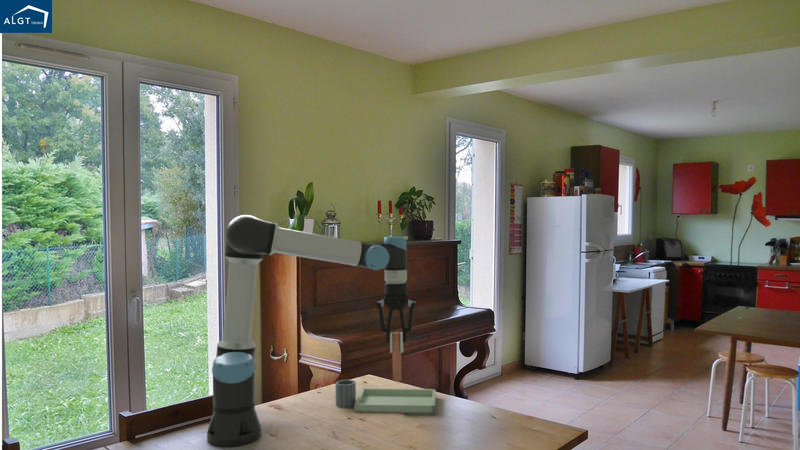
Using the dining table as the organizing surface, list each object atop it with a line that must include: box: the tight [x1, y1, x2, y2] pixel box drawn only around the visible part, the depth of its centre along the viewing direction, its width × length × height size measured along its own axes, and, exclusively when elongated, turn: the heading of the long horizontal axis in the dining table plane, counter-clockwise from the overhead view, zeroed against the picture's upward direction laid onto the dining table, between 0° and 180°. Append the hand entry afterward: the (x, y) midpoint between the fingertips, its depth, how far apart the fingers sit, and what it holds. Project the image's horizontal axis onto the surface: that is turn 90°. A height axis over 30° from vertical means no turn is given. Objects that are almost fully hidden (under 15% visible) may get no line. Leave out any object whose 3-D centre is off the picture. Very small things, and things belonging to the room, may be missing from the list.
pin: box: [392, 331, 402, 382], centre depth 193 cm, size 6×3×16 cm, turn 86°
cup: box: [335, 379, 357, 409], centre depth 193 cm, size 7×7×8 cm
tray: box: [353, 387, 437, 416], centre depth 193 cm, size 26×18×3 cm
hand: (396, 351), depth 193 cm, fingers closed on pin, 3 cm apart
